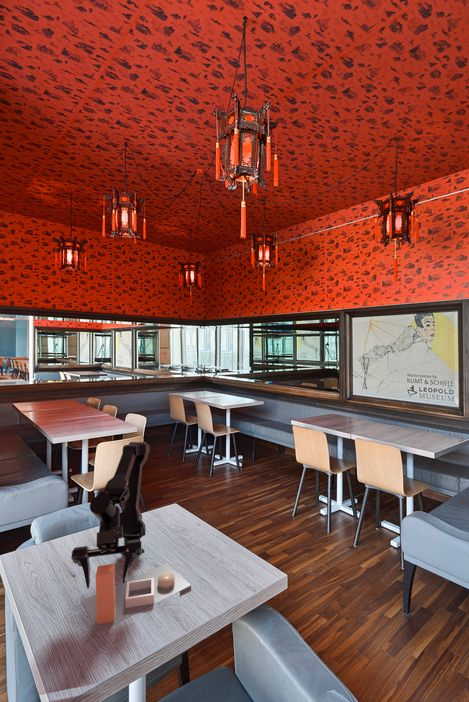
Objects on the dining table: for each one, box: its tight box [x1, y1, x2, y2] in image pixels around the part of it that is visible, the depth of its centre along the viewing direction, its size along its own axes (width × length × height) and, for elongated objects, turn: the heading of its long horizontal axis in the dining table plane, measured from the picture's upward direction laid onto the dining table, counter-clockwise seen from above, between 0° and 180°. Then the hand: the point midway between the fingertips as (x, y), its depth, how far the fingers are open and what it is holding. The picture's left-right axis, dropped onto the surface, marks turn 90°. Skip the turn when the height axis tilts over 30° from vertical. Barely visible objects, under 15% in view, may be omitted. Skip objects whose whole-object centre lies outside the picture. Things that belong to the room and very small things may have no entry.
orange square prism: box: [95, 563, 116, 624], centre depth 100 cm, size 4×4×13 cm
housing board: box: [80, 562, 192, 633], centre depth 110 cm, size 15×28×4 cm, turn 130°
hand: (105, 585), depth 101 cm, fingers open, 9 cm apart
